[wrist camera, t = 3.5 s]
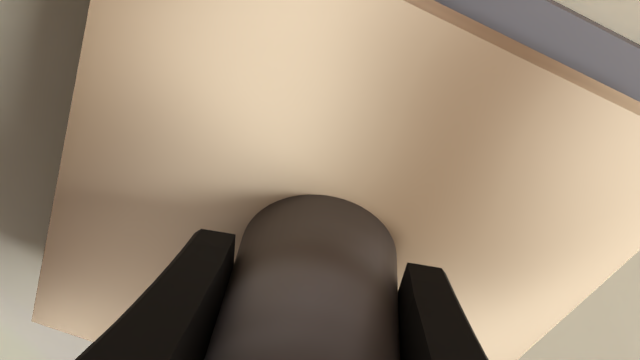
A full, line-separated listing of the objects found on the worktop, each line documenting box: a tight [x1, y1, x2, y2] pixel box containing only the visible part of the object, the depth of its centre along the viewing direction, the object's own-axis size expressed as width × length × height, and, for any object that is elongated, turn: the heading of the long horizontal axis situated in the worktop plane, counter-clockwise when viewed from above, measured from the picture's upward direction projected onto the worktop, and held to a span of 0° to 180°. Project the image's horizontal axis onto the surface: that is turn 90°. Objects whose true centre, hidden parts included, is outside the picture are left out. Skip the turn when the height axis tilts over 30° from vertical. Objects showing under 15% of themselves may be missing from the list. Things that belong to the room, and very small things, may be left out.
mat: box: [434, 0, 640, 102], centre depth 12 cm, size 11×11×1 cm
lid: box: [32, 0, 640, 360], centre depth 9 cm, size 10×10×4 cm
